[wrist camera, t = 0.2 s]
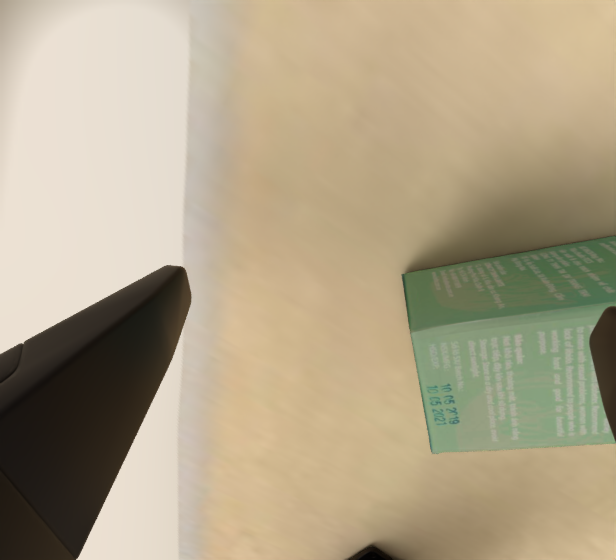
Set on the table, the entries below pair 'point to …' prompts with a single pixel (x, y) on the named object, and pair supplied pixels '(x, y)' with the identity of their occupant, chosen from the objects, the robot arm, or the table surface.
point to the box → (512, 348)
